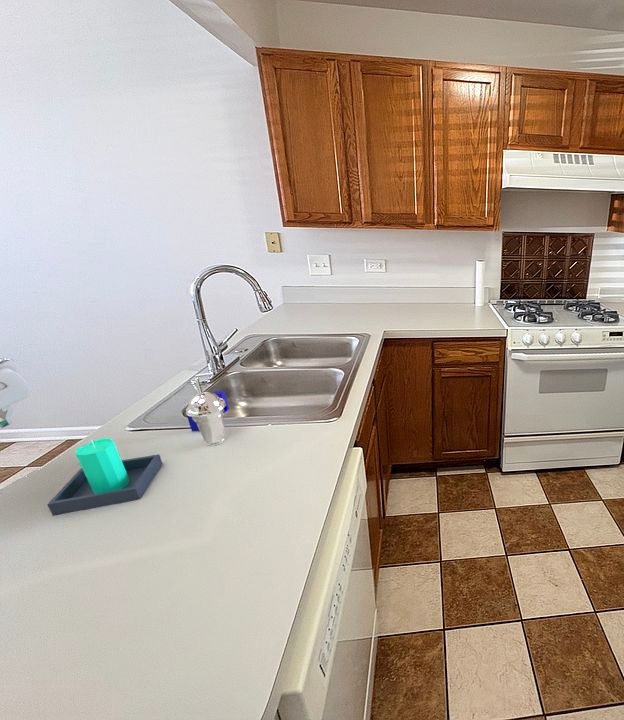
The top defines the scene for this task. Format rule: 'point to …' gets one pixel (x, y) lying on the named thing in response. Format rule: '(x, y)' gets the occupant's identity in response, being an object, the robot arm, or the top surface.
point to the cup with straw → (208, 414)
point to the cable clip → (222, 395)
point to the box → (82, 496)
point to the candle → (102, 465)
